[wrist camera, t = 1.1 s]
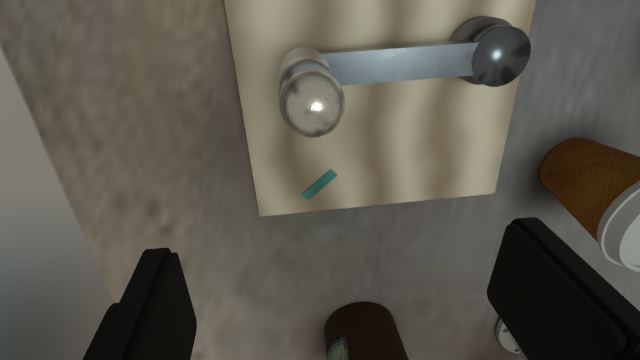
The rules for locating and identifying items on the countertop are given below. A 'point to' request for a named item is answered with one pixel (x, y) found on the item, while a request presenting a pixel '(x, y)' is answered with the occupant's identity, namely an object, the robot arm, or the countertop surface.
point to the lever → (390, 71)
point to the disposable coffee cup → (599, 194)
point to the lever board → (371, 105)
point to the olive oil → (363, 334)
